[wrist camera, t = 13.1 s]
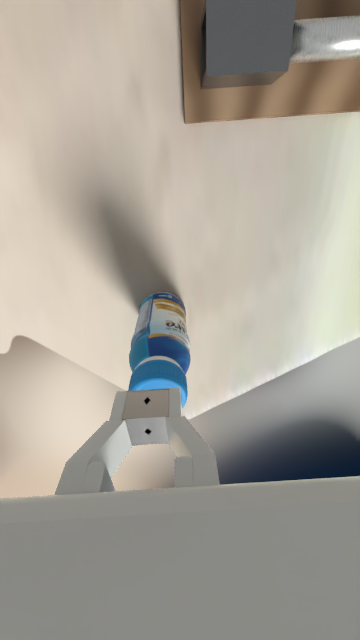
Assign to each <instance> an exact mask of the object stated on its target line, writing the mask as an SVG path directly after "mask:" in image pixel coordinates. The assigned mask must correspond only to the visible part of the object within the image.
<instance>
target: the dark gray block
mask: <svg viewBox="0 0 360 640" xmlns="http://www.w3.org/2000/svg"><path fill="white" fill-rule="evenodd" d="M296 2H297V0H205V5H204V9H203V14H202V19H201V89H215V88H229V87H243V86H258V85H271V84H272V83H273V82H275V81H276V80H277V79H278V78H280V77H281V76H282V75H283V74H285V73H286V72H287V71H288V68H289V60H290V52H291V43H292V35H293V27H294V18H295V10H296Z"/></svg>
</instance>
